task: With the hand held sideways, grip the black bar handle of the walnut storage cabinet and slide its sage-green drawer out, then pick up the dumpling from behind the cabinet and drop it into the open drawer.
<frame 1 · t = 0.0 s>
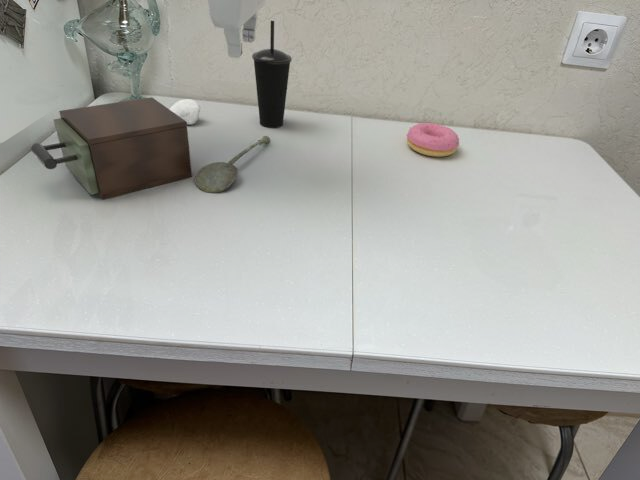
hand: (242, 48, 76), 20 cm above the table, tool pointing down, fingers open, 8 cm apart
dumpling: (185, 121, 101), on the table
drawer: (103, 150, 76), point 5 cm above the table, slide at 0.0 cm, touching cabinet
drinking cup: (271, 124, 104), on the table
soupspoon: (239, 166, 87), on the table
doughnut: (430, 149, 103), on the table
cabinet: (133, 172, 81), on the table
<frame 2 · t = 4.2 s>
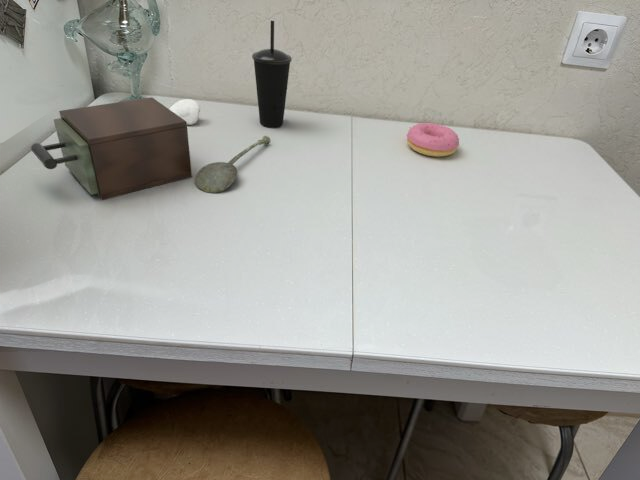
nothing on the table moved.
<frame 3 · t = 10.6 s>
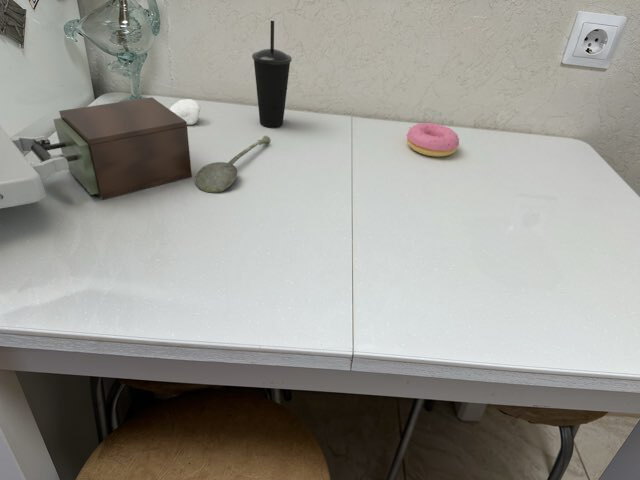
hand: (57, 151, 72), 6 cm above the table, tool horizontal, fingers closed on drawer, 6 cm apart
drawer: (103, 150, 76), point 5 cm above the table, slide at 0.0 cm, touching cabinet, gripper
everything else where it was.
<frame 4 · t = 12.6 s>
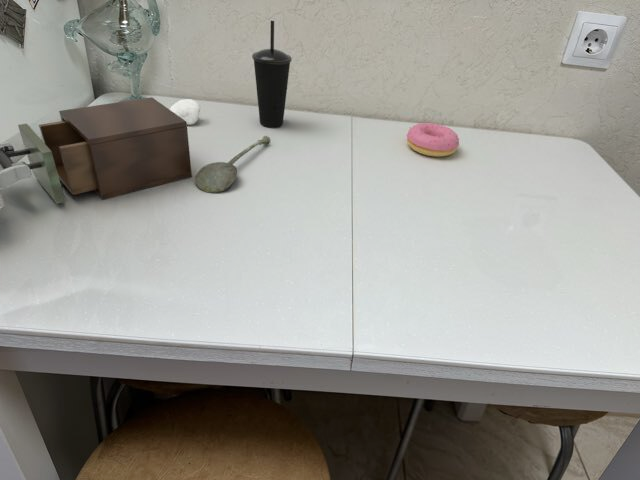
hand: (20, 158, 69), 6 cm above the table, tool horizontal, fingers closed on drawer, 6 cm apart
drawer: (70, 157, 73), point 5 cm above the table, slide at 4.7 cm, touching gripper
everything else where it was.
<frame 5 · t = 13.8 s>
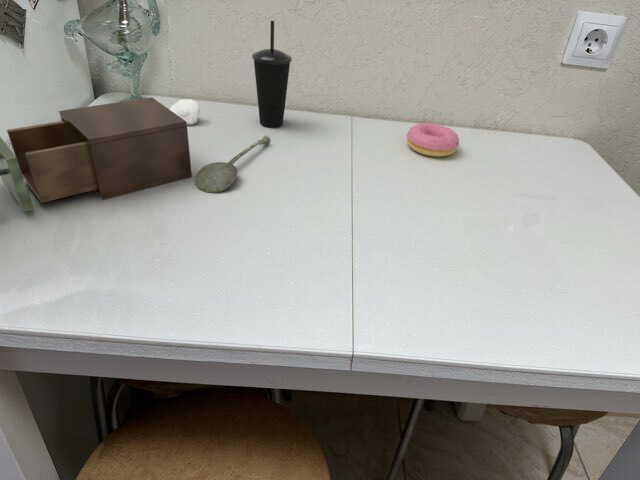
drawer: (39, 163, 71), point 5 cm above the table, slide at 8.9 cm, touching gripper
everything else where it was.
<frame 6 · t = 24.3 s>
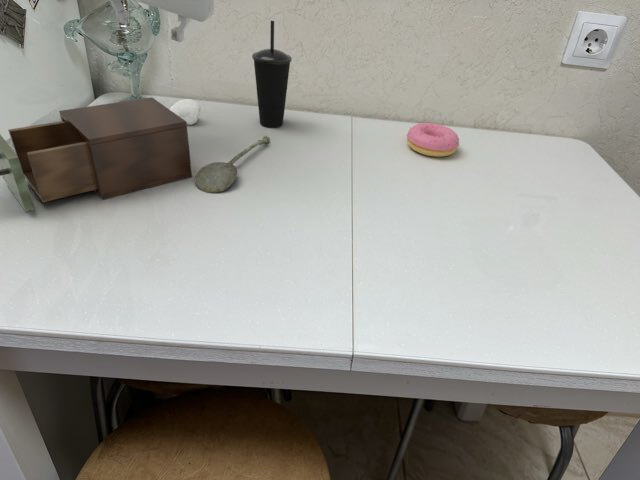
hand: (150, 31, 83), 18 cm above the table, tool pointing down, fingers open, 8 cm apart
drawer: (41, 162, 71), point 5 cm above the table, slide at 8.7 cm
everything else where it was.
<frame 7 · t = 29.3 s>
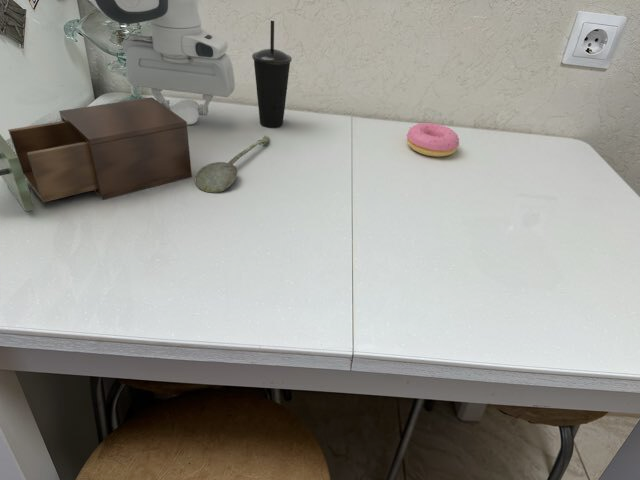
hand: (184, 112, 100), 2 cm above the table, tool pointing down, fingers closed on dumpling, 6 cm apart
dumpling: (185, 121, 101), on the table, touching gripper
everything else where it was.
when the fingers open (10 cm above the table, at t = 38.1 s): dumpling drops 6 cm, resting on drawer.
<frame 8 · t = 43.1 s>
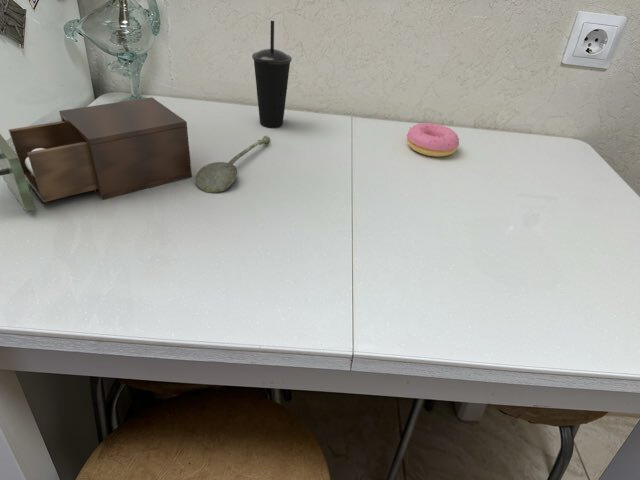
dumpling: (52, 178, 74), point 2 cm above the table, touching drawer
drawer: (41, 162, 71), point 5 cm above the table, slide at 8.7 cm, touching dumpling
everything else where it was.
at the end: drawer slide at 8.7 cm; dumpling inside the target area in the drawer (0.4 cm from its centre), point 1.8 cm above the cabinet's base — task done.
